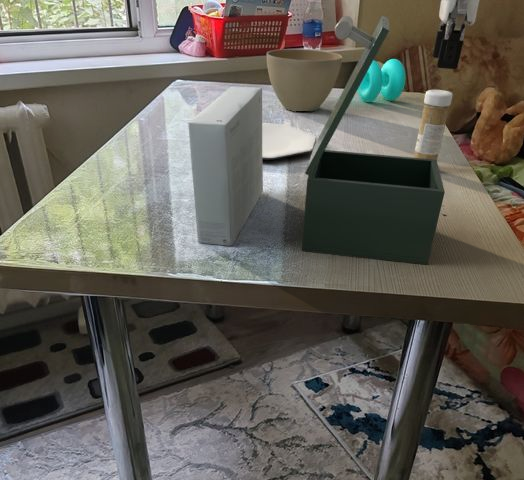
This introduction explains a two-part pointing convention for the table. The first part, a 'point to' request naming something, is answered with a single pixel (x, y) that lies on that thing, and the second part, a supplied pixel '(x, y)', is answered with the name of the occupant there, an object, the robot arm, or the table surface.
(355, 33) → the bin lid
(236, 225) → the skincare box
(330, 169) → the trash bin
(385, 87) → the turquoise yoyo
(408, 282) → the table surface
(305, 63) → the flower pot
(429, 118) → the sprinkles bottle
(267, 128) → the plate
